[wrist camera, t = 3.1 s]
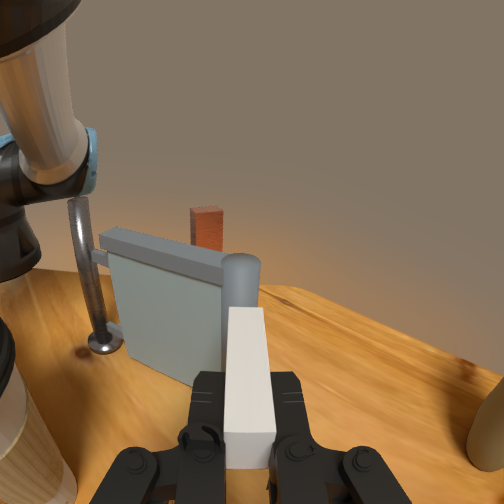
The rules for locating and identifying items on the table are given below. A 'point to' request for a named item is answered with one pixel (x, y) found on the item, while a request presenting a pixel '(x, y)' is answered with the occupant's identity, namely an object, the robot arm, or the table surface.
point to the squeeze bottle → (488, 432)
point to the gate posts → (100, 341)
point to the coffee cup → (27, 442)
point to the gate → (175, 300)
